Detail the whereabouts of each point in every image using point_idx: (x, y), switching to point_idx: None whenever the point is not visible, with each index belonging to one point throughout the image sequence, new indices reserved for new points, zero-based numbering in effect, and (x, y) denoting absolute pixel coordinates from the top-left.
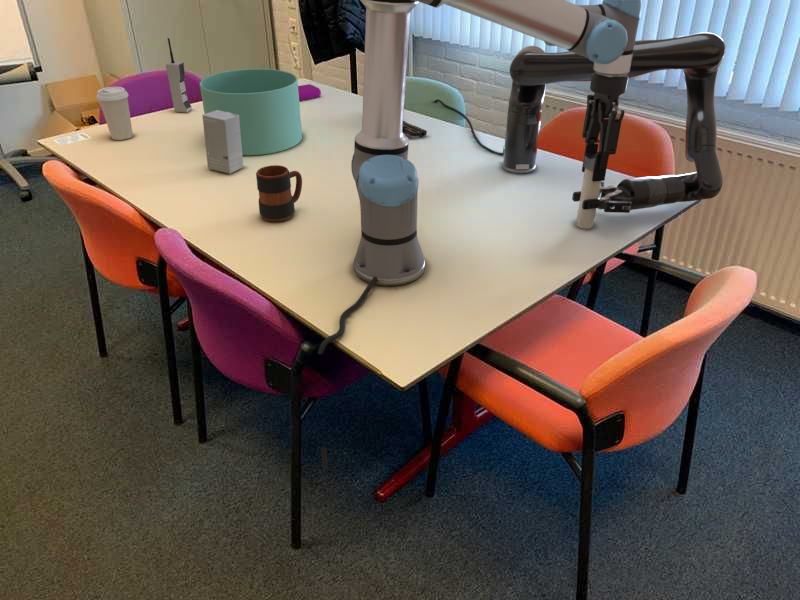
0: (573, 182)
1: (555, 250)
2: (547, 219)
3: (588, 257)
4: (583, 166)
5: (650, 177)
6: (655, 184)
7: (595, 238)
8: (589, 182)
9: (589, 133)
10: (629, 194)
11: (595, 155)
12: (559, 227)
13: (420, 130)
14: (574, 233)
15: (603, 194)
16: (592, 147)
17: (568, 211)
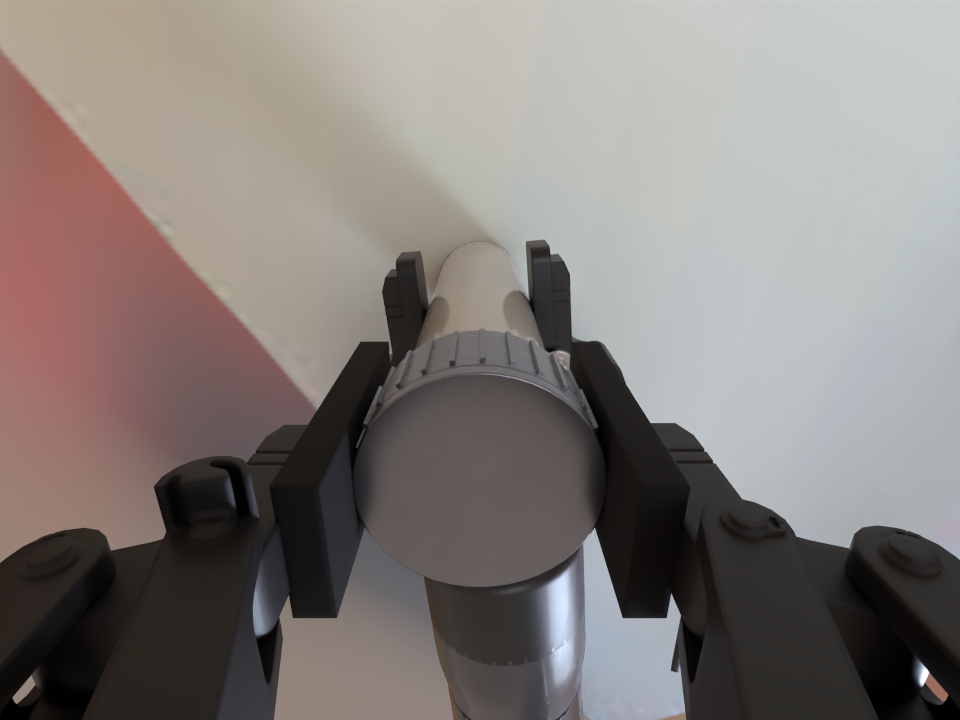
0: (927, 419)
1: (224, 10)
2: (580, 115)
3: (154, 162)
4: (588, 360)
5: (518, 697)
6: (462, 682)
7: (341, 276)
8: (427, 331)
9: (738, 657)
10: None
11: (507, 493)
12: (477, 145)
13: None
14: (402, 197)
15: None
16: (622, 532)
17: (638, 266)
